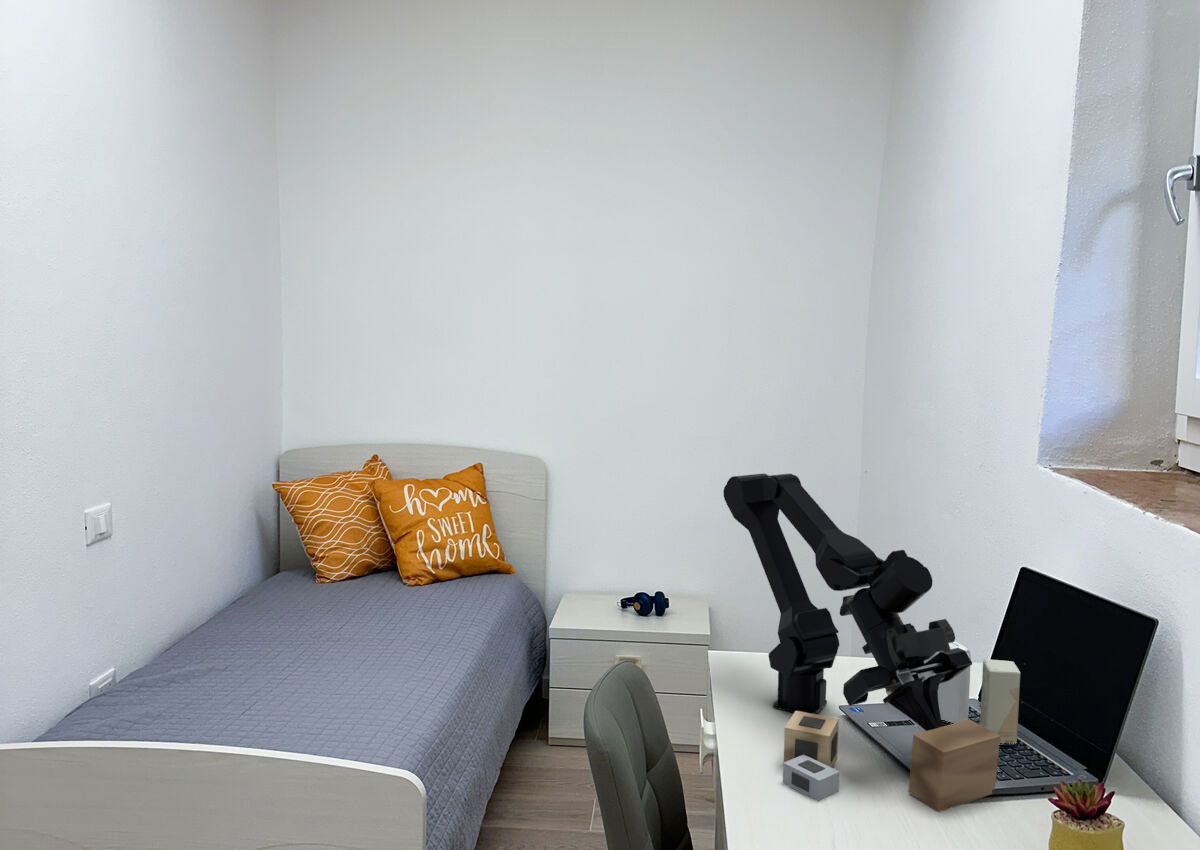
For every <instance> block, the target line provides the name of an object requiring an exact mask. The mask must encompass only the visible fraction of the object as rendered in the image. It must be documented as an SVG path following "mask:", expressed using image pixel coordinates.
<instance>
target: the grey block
mask: <svg viewBox="0 0 1200 850" xmlns="http://www.w3.org/2000/svg"><path fill="white" fill-rule="evenodd" d="M782 764H783V766H782V767H783V768H782V784H785V785H787V786H788V787H790V788H792V789H795V790H796V791H798V792H800V793H801V794H803V795H805V796H807V797H810V798H811V799H813V800H815V801H817V802H820V801H822V800H825V799H826V798H828V797H831V796H833V795H836V794H837V793H839V792H840V774H841V773H840V771H839V770H837V769H835V768H834V767H833V768H831V767H829V766H827V765H825V764H823V763H821V762H819V761H816V760H814V759H812V758H810V757H808V756H806V755H801V756H799V757H796V758H794V759H791V760H789V761H786V762H784V761H783V763H782Z"/></svg>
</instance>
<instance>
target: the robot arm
mask: <svg viewBox="0 0 1200 850" xmlns="http://www.w3.org/2000/svg"><path fill="white" fill-rule="evenodd" d="M722 494H723V498H724V502H725V503H726V505H727V508H728V509H729V512H730V513H731V515H732V517H733V518H734V520H735V521H737V522H738V523H739V524H740V525H741V526H743V527H744V528H745V529H747V531H748V532H749V534H750V537H751V540H752V542H753V545H754V547H755V551H756V552H757V555H758V558H759V560H760V563H761V566H762V568H763V570H764V574H765V576H766V578H767V582H768V585H769V588H770V590H771V592H772V594H773V597H774V600H775V602H776V604H777V607H778V610H779V613H780V616H779V622H778V628H777V629H778V630H777V636H778V639H779V643H778V644H777V645H776V646H775V647H774V648H773V649H772V650H770V652H769V653H768V659H769V666H770V668H771V669H773V670H775V671H777V672H778V674H777V700H776V701H774V702H773V703H772V707H773V708H774V709H778V710H782V711H786V712H790V713H793V714H794V713H795V711H800V712H806V713H811V714H817V713H818V712H819V711H820V710H821V709H823V707H825V706H826V705H827V703H828V701H827V680H826V679H825V678H824V673H825V672H824V671H825V670H824V669H831V668H833V665H834V661H835V660H836V656H837V654H838V650H839V647H840V640H839V636H838V634H839V632H840V631H839V630H838V629H837V627H836V625H835V624H834V621H833V618H832V617H833V616H832V615H831V612H830V610H829V609H828V608H827V607H823V608H818V607H817V606H815V605H814V604H813V602H812V601H811V600H810V597H809V594H808V592H807V589H806V587H805V584H804V582H803V578H802V577H801V574H800V571H799V570H798V567H797V565H796V561H795V560H794V559H795V558H794V557H793V554H792V552H791V549H790V546H789V545H788V542H787V540H786V537H785V535H784V532H783V529H782V527H781V525H780V522H779V514H780V512H781V514H783V515H784V516H785V518H786V519H787V520H788V521H789V523H790V524H791V525H792V526H793V527H794V529H796V531H797V532H798V534H799V535H800V536H801V537H802V538H803V540H804V541H805V542H806V543H807V544H808V545H809V547H810V548H811V549H812V552H813V553H814V555H815V556H814V557H815V567H816V569H817V570H818V572H819V573H820V575H821V577H822V579H823V580H824V582H825V583H826V585H827V586H828V587H829V589H831V590H833V591H835V592H836V591H837V592H839V591H840V592H842V591H848V590H852V589H853V590H854V589H858V590H857V591H856V592H855V593H853V594H852V595H846V596H842V603H841V606H840V608H839V615H840V616H841V617H843V616H850V615H852V618H853V619H854V622H855V623H856V625H857V627H858V629H859V631H860V633H861V636H862V637H863V639H864V641H865V643H866V644H864V645H863V646H862V647H861V648H862V650H863V653H864V654H865V655H868V654H872V656H873V658H874V660H875V662H876V666H870V667H866V668H863V669H859V670H858V671H857V672H856V673H855V674H854V675H853V676H851V677H850V678H849V679H848V680H847V681H846V682H844V683H843V688H842V689H843V690H842V694H843V697H844V698H845V700H846V703H847V705H848V706H849V707H850V706H855V705H859V704H863V703H866V702H868V701H867V700H868V697H869V693H870V692H874V691H878V690H883V689H885V693H886V696H885V697H884V698H883V699H882V702H883V703H884V704H889V705H891V706H893V707H894V708H895V709H897V710H898V711H900V712H901V713H902V714H904V715H905V716H907V717H908V718H909V719H911V720H912V721H913V722H915V724H917V725H918V726H919V727H921V728H922V729H923V730H924V731H928V730H932V729H936V728H939V727H943V721H941V715H940V709H939V703H938V687H939V684H941V683H945V682H947V681H949V680H951V679H953V678H954V677H955V676H957V675H958V674H960V673H961V672H962V671H964V670H965V669H966V668H968V667H969V666H970V667H971V666H972V665H973V662H972V659H971V660H970V658H969V656H968V655H967V653H966V651H965V650H962V649H960V648H955V649H950V646H949V643H951V642H954V641H955V642H956V636H955V632H954V629H953V627H952V626H951V624H950V623H949V621H948V620H947V619H946V618H944V619H939V620H933V621H929V622H928V629H925V630H919V631H917V629H916V627H915V626H914V624H912V623H911V622H910V623H906V624H904V622H903V620H902V617H901V616H900V614H901V613H904V612H906V611H907V610H908V609H909V608H911V607H912V606H913V605H914V604H915V603H916V602H917V601H919V600H920V599H922V597H923V596H924V595H926V594H927V593H928V592H929V591H930V590H931V589H932V588H933V587H932V586H933V578H932V577H933V576H932V575H931V572H930V570H929V569H928V567H926V566H924V564H923V563H921V562H920V561H919V560H918V559H915V558H914V557H911V556H908V554H907V552H906V551H905V550H904V549H898V550H893V551H891V552H890V553H889V554H888V555H887V557H886V558H885V560H883V559H882V558H880V557H878V556H877V555H876V554H875V552H874V551H873V550H872V549H871V548H870V547H869V546H867V545H866V544H865V543H863V542H862V541H861V540H860V539H859V538H857V537H854V536H852V535H850V534H847V533H845V532H843V531H842V530H841V529H840V528H839V527H838V526H837V524H835V523H834V521H833V520H832V519H831V518H830V516H828V515H827V513H826V512H825V511H824V509H822V507H821V506H820V505H819V504H818V503H817V502H816V500H815V499H813V497H812V496H811V495H810V494H809V492H808V491H807V490H806V489H805V487H803V485H802V483H801V479H800V478H799V476H798V475H796V474H793V473H783V474H772V475H769V474H767V473H755V474H744V475H735V476H731V477H730V478H729V479H728V480H727V482H726V484H725V486H724V487H723V493H722ZM940 651H941V652H940ZM936 652H939V653H938V654H937V655H936V656H934V657H933V658H932V659H930V660H929V661H928V662H926V663H925V664H924V662H923V661H925V660H927V659H929V658H930V657H932V656H933V655H934V654H935V653H936ZM915 672H916V674H912V673H915Z"/></svg>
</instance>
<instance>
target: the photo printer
mask: <svg viewBox="0 0 1200 850" xmlns="http://www.w3.org/2000/svg"><path fill="white" fill-rule="evenodd" d="M949 646H950V649H955V648H960V649H962V650H965V651H966V653H967V655H968V656H969V658H970V660H971V661H972V659H971V658H972V657H971V655H972V654H971V651H970V649H969V648H967V647H966V646H964V645H962V644H960V643H959V642H957V641H956V640H955V641H954V642H951V643H949ZM940 652H941V651H940ZM938 653H939V652H936V653H935V654H934V655H933V656H932V657H930V658H929V659H927V660H925V661H923V662H924V664H925V663H926V662H928V661H929V660H930V659H932V658H933V657H934V656H936V655H937V654H938ZM912 674H916V672H915V673H912ZM970 683H971V666H969V667H968V668H966V669H965V670H964V671H962V672H961V673H960V674H958V675H957V676H955V677H954V678H953V679H951V680H949V681H947V682H945V683H941V684H939V687H938V703H939V709H940V715H941V720H945V721H948V722H951V723H950V724H952V723H958V722H961V721H965V720H969V708H970V689H971V688H970V686H971V685H970ZM945 721H944V722H945ZM948 722H947V723H948Z"/></svg>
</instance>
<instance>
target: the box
mask: <svg viewBox="0 0 1200 850" xmlns="http://www.w3.org/2000/svg"><path fill="white" fill-rule="evenodd" d="M981 674H982V678H981V697H980V722H979V725H981V726H983V727H985V728H987V729H988V730H990V731H992V732H994V733H996V734H998V735H1000V743H1009V744H1010V743H1011V744H1014V743H1015V744H1016V743H1017V740H1018V727H1019V726H1018V725H1019V724H1018V723H1019V708H1020V707H1019V706H1020V687H1021V685H1020V684H1021V671H1020V669H1019V668H1018V666H1017V665H1016V664H1015V662H1014V661H1011V660H1010V661H1009V660H1002V659H1001V660H999V659H989V658H988V659H987V658H986V659H982V673H981Z"/></svg>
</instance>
